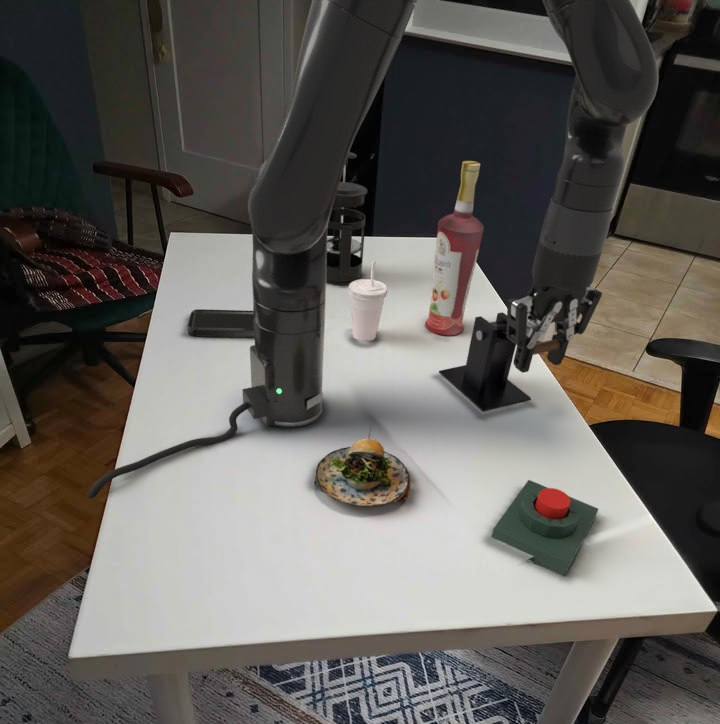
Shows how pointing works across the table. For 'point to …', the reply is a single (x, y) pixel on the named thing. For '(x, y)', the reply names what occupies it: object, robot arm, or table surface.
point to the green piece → (544, 529)
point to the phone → (221, 323)
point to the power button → (552, 503)
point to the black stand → (487, 369)
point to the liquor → (455, 258)
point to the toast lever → (539, 346)
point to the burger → (363, 475)
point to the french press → (345, 234)
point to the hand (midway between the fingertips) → (537, 365)
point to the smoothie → (366, 306)
